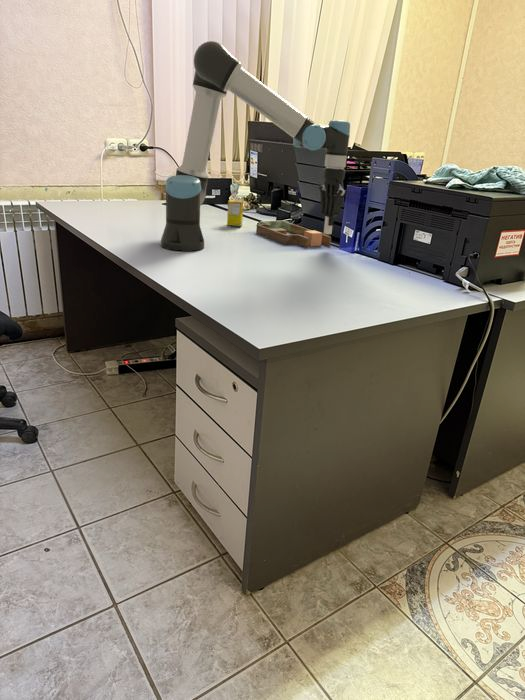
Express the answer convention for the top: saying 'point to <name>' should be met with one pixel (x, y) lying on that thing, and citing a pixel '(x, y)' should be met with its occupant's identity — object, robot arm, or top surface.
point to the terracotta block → (313, 237)
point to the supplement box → (235, 213)
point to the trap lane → (280, 228)
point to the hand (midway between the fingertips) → (327, 233)
